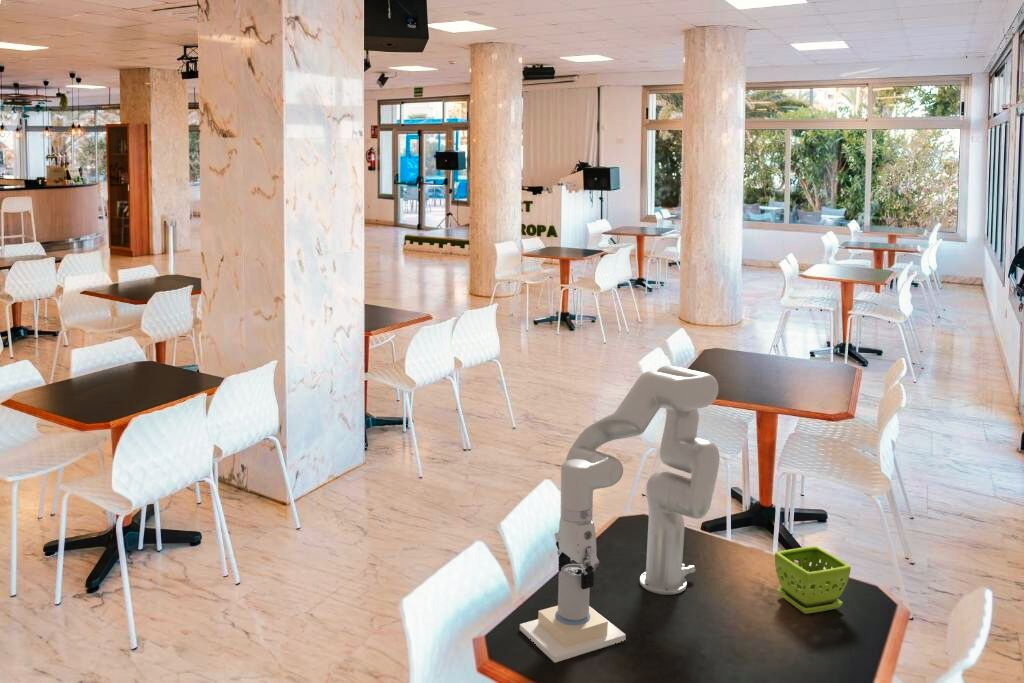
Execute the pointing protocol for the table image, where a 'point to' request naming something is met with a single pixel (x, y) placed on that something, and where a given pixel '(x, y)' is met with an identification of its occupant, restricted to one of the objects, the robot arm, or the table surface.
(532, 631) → the base
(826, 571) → the flower pot
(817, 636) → the table surface
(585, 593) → the can
